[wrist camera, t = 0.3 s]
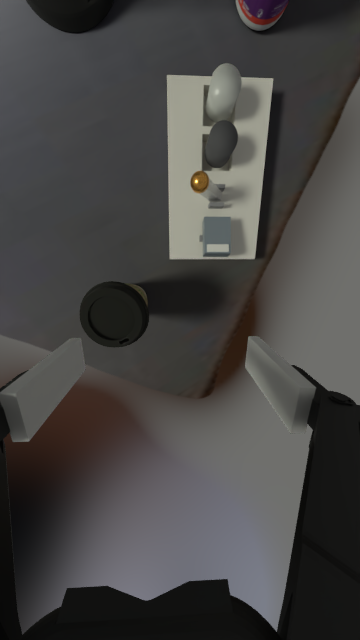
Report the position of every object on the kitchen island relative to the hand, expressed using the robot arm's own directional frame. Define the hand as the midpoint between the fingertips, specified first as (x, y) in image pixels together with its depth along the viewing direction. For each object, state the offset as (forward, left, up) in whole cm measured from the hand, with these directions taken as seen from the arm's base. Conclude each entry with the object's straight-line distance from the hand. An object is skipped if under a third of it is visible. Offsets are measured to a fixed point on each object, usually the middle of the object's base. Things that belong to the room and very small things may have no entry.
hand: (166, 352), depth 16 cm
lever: (-17, +8, -23) cm, 30 cm away
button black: (-24, +8, -24) cm, 35 cm away
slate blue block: (-11, +8, -22) cm, 26 cm away
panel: (-20, +8, -27) cm, 35 cm away
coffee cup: (+1, -8, -27) cm, 28 cm away
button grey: (-30, +8, -24) cm, 39 cm away
